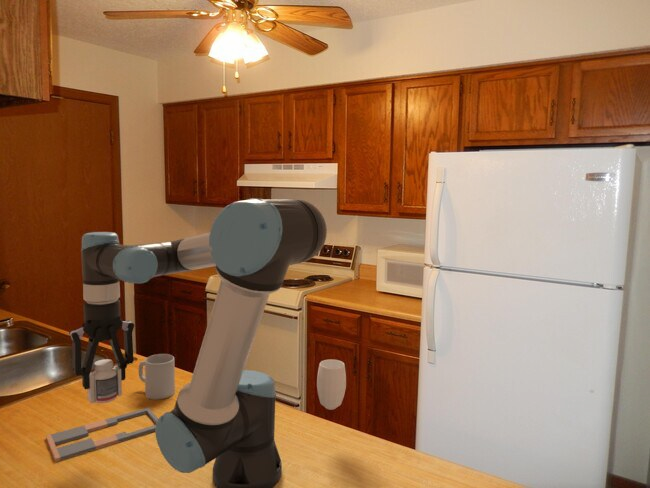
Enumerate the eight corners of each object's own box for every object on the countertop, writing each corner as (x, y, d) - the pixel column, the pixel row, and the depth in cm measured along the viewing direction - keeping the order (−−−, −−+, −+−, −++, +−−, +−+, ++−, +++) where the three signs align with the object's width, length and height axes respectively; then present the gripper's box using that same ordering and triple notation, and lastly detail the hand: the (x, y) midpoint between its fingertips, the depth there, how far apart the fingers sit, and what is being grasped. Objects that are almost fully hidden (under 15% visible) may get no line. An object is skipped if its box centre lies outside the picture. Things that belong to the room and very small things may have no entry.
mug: (180, 390, 143) (180, 356, 142) (162, 401, 135) (162, 366, 134) (149, 383, 147) (148, 350, 146) (129, 394, 139) (128, 359, 138)
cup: (349, 444, 116) (352, 365, 114) (328, 454, 112) (331, 372, 109) (330, 432, 122) (333, 356, 119) (309, 441, 117) (311, 362, 114)
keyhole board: (164, 428, 121) (164, 425, 121) (55, 461, 105) (55, 458, 105) (148, 410, 130) (148, 407, 130) (46, 438, 114) (46, 435, 114)
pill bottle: (122, 397, 109) (121, 361, 108) (101, 406, 104) (100, 368, 103) (107, 391, 111) (106, 356, 110) (87, 400, 107) (86, 363, 106)
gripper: (136, 291, 114) (138, 381, 117) (52, 302, 102) (56, 402, 105) (148, 298, 108) (150, 392, 111) (60, 310, 96) (65, 415, 99)
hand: (104, 397), depth 108 cm, fingers closed on pill bottle, 5 cm apart
